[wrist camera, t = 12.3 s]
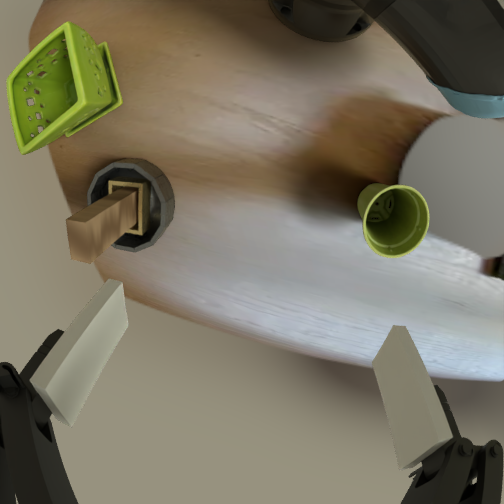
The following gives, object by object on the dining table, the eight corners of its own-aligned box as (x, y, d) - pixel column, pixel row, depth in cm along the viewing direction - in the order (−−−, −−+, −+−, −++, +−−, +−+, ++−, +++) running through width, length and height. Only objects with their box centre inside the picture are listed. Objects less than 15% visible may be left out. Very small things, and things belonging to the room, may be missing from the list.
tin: (101, 156, 37) (86, 161, 34) (177, 162, 37) (168, 166, 34) (102, 234, 43) (90, 243, 40) (173, 246, 43) (164, 258, 40)
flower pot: (137, 106, 34) (86, 106, 22) (72, 145, 36) (19, 159, 25) (116, 34, 28) (67, 16, 17) (55, 78, 31) (3, 78, 19)
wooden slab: (125, 185, 39) (65, 219, 25) (142, 187, 39) (85, 222, 25) (125, 215, 41) (71, 259, 27) (142, 218, 41) (90, 263, 27)
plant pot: (344, 232, 40) (359, 259, 32) (346, 170, 36) (366, 183, 28) (398, 232, 39) (422, 257, 32) (404, 173, 35) (433, 187, 27)
